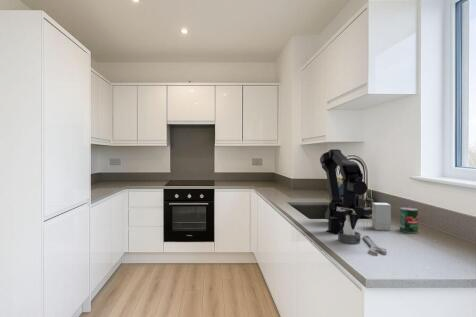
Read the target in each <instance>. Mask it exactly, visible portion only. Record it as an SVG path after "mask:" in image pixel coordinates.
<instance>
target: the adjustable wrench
mask: <svg viewBox="0 0 476 317" xmlns="http://www.w3.org/2000/svg"><path fill="white" fill-rule="evenodd" d="M362 240H364V242H365V243H366V244H367V245H368V247H369V248H368V253H369V255H372V256H378V255H379V253H380V254H381V255H384V256H387V255H388V254H387V252H388V251H387V248H383V247H380V246H378V245H377V244H376V243H375V242H374V240H373V239H372V238H371V237H370V236H369V235H363V236H362Z"/></svg>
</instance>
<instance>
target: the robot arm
mask: <svg viewBox="0 0 476 317" xmlns="http://www.w3.org/2000/svg"><path fill="white" fill-rule="evenodd" d="M319 163H320V164H321V168H322V169H323V171H325V174H326V180H327V186H328V193H329V202H328V203H327V208H326V211H325V213H324V217H325V219H326V220H327V221H328V223H327V225H328V229H326V230H325V232H328V233H331V234H334V235H338V232H339V231H343V230H344V227H343V226H344V223H345V221H346V215H347V214H348V215H350V223H351V228H352V230H353V229H354V230H355V228H356V226H357V223H358V220H359V218H360V217H361V216H362V217H363V216H370V215H371V216H372V207H369V206H366V204H367V201H366V200H364V199H362V198H360V196H363V195H364V194H366V193H367V190H368V186H367V184H366V182H365V181H363V180H364V174H363V171H362V170H361V167H360V165H359V164H358V162H356V161H354V160H349V159H348V158H347V157H346V156H345V155H344V154H343V153H342V151H341V149H337V148H336V149H335V148H334V149H329V150H328V151H326V152H324V153H323V154H321V155H320V158H319ZM338 167H339V170H338V171H339V173H340V175H341V178H342V179H341V180H342V181H343V183H342V194H340V193H339V187H338V181H337V177H338V176H337V171H336V170H337V168H338ZM340 197H342V199H341V198H340ZM349 212H351V213H349Z"/></svg>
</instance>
